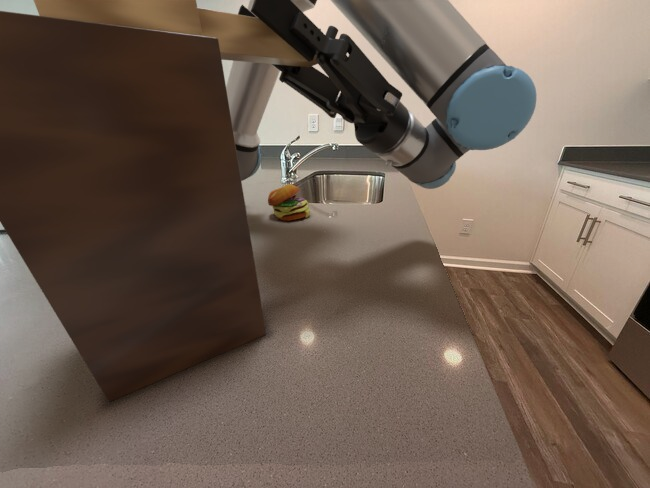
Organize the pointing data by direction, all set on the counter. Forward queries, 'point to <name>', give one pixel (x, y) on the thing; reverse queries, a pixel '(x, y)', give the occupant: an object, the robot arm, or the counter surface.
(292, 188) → the cheeseburger
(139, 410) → the counter surface
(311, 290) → the counter surface
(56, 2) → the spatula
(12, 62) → the stand
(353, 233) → the counter surface
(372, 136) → the robot arm
